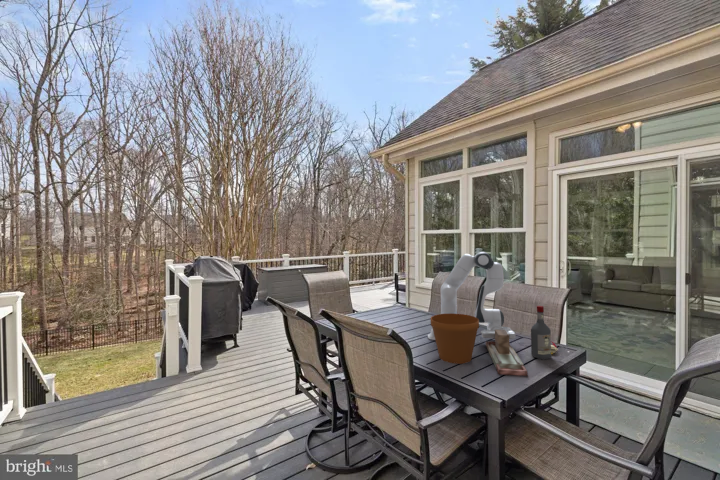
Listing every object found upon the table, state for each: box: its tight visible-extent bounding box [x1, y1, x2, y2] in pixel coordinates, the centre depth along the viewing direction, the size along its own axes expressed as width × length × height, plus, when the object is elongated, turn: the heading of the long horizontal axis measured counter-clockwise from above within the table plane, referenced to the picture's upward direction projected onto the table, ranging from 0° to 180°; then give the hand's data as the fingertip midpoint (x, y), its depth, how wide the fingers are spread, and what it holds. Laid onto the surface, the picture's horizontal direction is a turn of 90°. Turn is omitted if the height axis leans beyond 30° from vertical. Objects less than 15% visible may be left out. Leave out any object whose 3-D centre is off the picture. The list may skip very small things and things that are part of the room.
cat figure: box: [551, 340, 559, 355], centre depth 212 cm, size 10×9×25 cm
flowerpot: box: [430, 313, 480, 365], centre depth 200 cm, size 28×28×24 cm
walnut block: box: [494, 329, 510, 354], centre depth 202 cm, size 6×12×11 cm, turn 167°
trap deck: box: [485, 340, 528, 377], centre depth 197 cm, size 14×48×4 cm, turn 167°
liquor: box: [530, 305, 552, 360], centre depth 198 cm, size 9×9×30 cm
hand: (500, 338), depth 208 cm, fingers closed
